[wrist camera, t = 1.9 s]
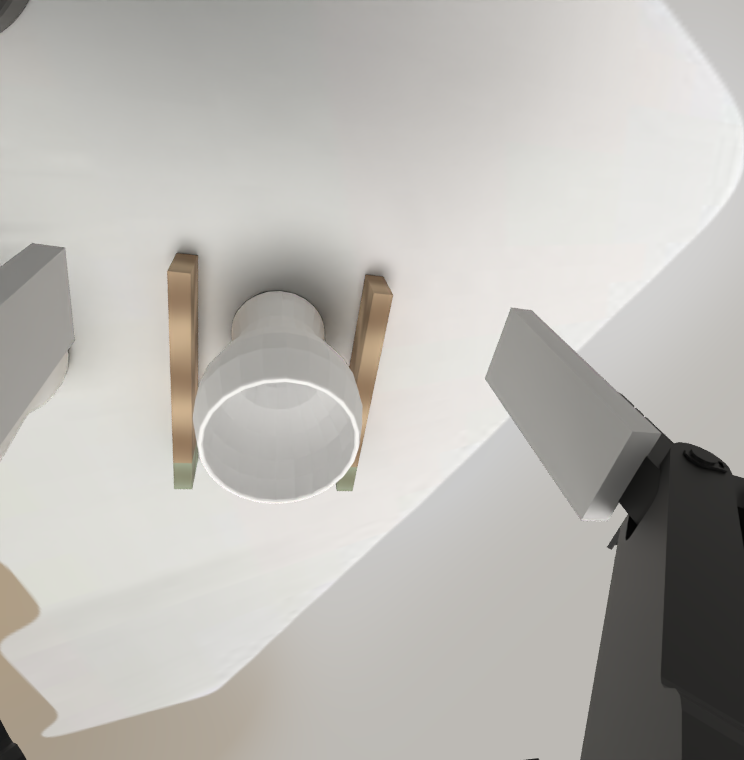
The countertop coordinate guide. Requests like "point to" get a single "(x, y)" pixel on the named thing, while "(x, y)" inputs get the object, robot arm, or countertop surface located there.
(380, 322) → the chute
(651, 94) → the countertop surface
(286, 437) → the cup
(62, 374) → the bottle
